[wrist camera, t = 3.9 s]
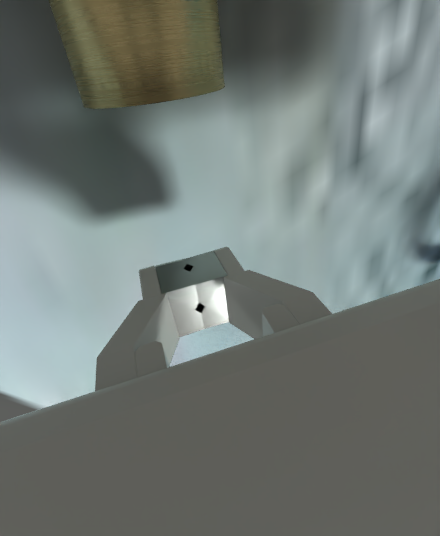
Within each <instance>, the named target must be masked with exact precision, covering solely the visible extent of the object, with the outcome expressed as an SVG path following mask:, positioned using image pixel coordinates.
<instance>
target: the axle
mask: <svg viewBox="0 0 440 536" xmlns="http://www.w3.org/2000/svg"><path fill="white" fill-rule="evenodd" d="M49 3H50V6H51V9H52V12H53V15H54V18H55V21H56V24H57V27H58V30H59V33H60V36H61V39H62V42H63V45H64V48H65V51H66V54H67V57H68V60H69V63H70V66H71V69H72V72H73V75H74V78H75V81H76V84H77V87H78V90H79V93H80V96H81V99H82V102H83V105H84V107H85V108H90V109H102V108H117V107H128V106H137V105H145V104H152V103H159V102H166V101H172V100H178V99H183V98H189V97H193V96H198V95H203V94H207V93H211V92H214V91H218V90H220V89H222V88H224V87H225V86H224V75H223V63H222V51H221V40H220V28H219V16H218V4H217V0H49Z"/></svg>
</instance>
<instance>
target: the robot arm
mask: <svg viewBox="0 0 440 536" xmlns="http://www.w3.org/2000/svg"><path fill="white" fill-rule="evenodd" d="M139 276H140V283H141V290H142V297H143V300H140V301H138V302H137V304H136V305H135V306H134V308H133V309H132V310H131V312H130V313H129V315H128V316H127V317H126V319H125V320H124V321H123V323H122V324H121V325H120V327H119V328H118V330H117V331H116V332H115V334H114V335H113V336H112V338H111V339H110V341H109V342H108V343H107V345H106V346H105V347H104V349H103V350H102V351H101V353H100V354H99V356H98V357H97V365H96V385H95V392H92V393H89V394H86V395H83V396H80V397H77V398H73V399H70V400H67V401H64V402H61V403H58V404H55V405H52V406H49V407H46V408H43V409H40V410H37V411H34V412H30V413H27V414H24V415H21V416H18V417H15V418H12V419H9V420H6V421H3V422H0V536H440V279H438V280H435V281H432V282H429V283H426V284H423V285H420V286H417V287H414V288H410V289H407V290H404V291H401V292H398V293H395V294H392V295H389V296H386V297H383V298H380V299H377V300H374V301H371V302H368V303H365V304H362V305H359V306H355V307H352V308H349V309H346V310H343V311H340V312H337V313H334V314H332V313H331V312H330V311H329V310H328V309H327V308H326V307H325V305H324V304H323V303H322V302H321V301H320V300H319V299H318V298H317V297H316V296H315V294H314V293H313V292H311V291H308V290H305V289H302V288H299V287H296V286H293V285H290V284H288V283H285V282H282V281H279V280H276V279H273V278H270V277H267V276H264V275H262V274H259V273H256V272H253V271H250V270H247V271H244V269H243V268H242V266H241V265H240V263H239V262H238V261H237V259H236V258H235V256H234V255H233V253H232V252H231V250H230V249H229V247H224V248H220V249H217V250H214V251H211V252H207V253H204V254H200V255H197V256H193V257H190V258H186V259H181V260H176V261H172V262H168V263H164V264H160V265H156V266H151V267H148V268H144V269H140V270H139ZM227 322H230V323H231V324H232V325H234V326H235V327H237V328H238V329H240V330H241V331H243V332H245V333H246V334H248V335H249V336H251V337H252V338H254V340H251V341H248V342H245V343H242V344H239V345H236V346H233V347H230V348H227V349H224V350H221V351H218V352H215V353H212V354H208V355H205V356H202V357H199V358H196V359H193V360H190V361H187V362H184V363H181V364H178V365H175V366H172V367H170V366H169V365H170V363H171V360H172V357H173V355H174V352H175V349H176V347H177V344H178V342H179V337H182V336H185V335H188V334H191V333H194V332H197V331H199V330H202V329H206V328H209V327H213V326H216V325H220V324H223V323H227Z"/></svg>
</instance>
